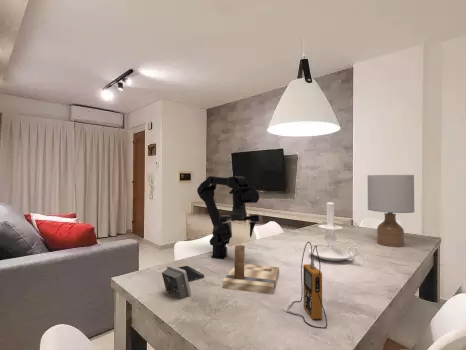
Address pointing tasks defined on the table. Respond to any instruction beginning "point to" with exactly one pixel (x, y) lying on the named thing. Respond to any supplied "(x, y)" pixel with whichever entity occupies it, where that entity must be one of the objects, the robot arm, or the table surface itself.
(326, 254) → the candlestick
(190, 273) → the phone
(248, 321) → the table surface
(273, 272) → the board
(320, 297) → the multimeter
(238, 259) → the brown round-topped cylinder
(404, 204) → the lamp
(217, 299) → the table surface
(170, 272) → the electrical switch
